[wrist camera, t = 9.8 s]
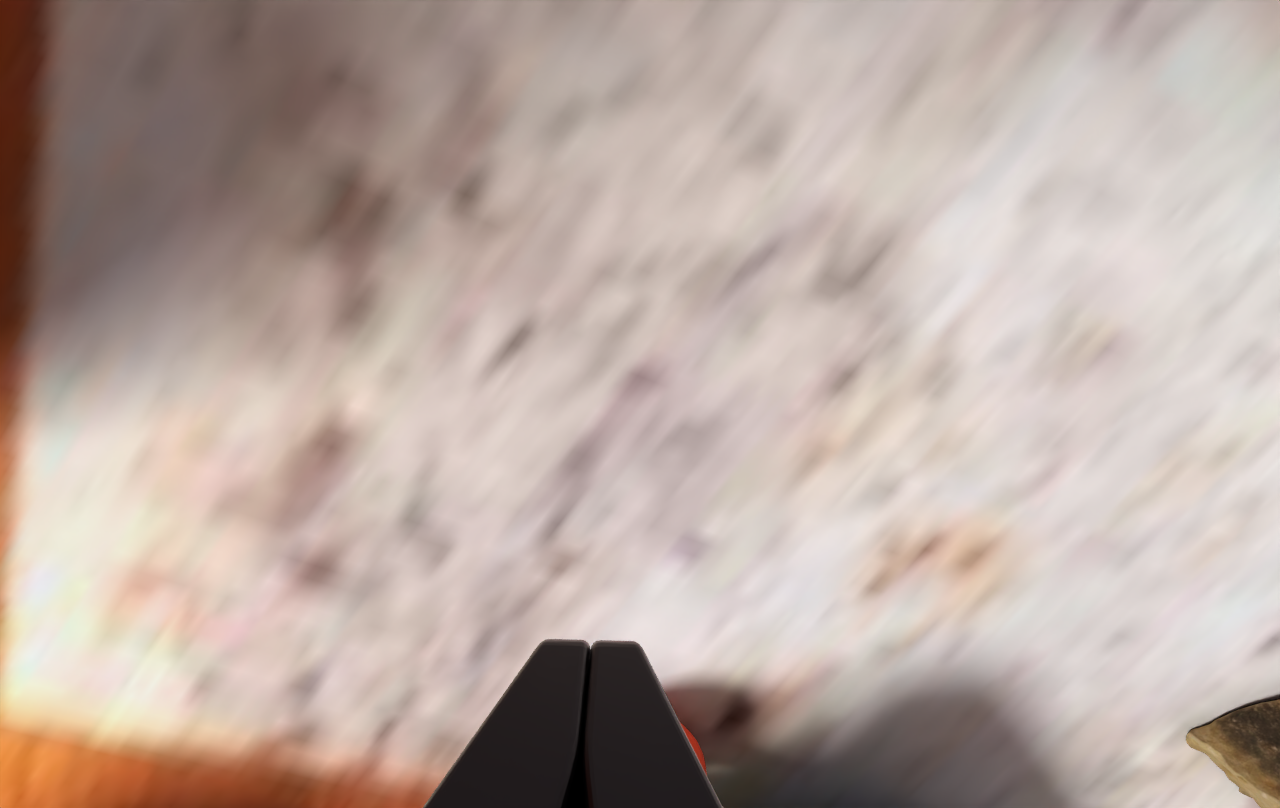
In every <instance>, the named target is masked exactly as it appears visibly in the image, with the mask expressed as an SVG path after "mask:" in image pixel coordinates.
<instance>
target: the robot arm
mask: <svg viewBox="0 0 1280 808" xmlns="http://www.w3.org/2000/svg"><path fill="white" fill-rule="evenodd" d="M423 808H723V807H722V805H721V803H720V801H719V799H718V797H717V795H716V793H715V791H714V789H713V787H712V785H711V783H710V781H709V779H708V777H707V775H706V773H705V771H704V769H703V767H702V765H701V763H700V761H699V759H698V757H697V755H696V753H695V751H694V749H693V747H692V745H691V743H690V741H689V739H688V737H687V735H686V733H685V731H684V730H683V728H682V726H681V724H680V722H679V720H678V718H677V716H676V714H675V712H674V710H673V708H672V706H671V704H670V702H669V700H668V698H667V696H666V694H665V692H664V690H663V688H662V686H661V684H660V682H659V680H658V678H657V676H656V674H655V672H654V670H653V668H652V666H651V664H650V662H649V660H648V658H647V656H646V654H645V652H644V650H643V649H642V647H641V646H640V645H639V644H638V643H636V642H634V641H603V640H600V641H596V642H595V643H593V645H592V647H591V650H590V646H589V644H588V643H587V642H586V641H584V640H562V639H547V640H545V641H543V642H541V643H540V644H539V645H538V647H537V648H536V649H535V651H534V652H533V653H532V655H531V656H530V658H529V659H528V660H527V662H526V663H525V665H524V666H523V667H522V669H521V670H520V672H519V673H518V675H517V676H516V677H515V679H514V680H513V682H512V683H511V684H510V686H509V687H508V689H507V690H506V691H505V693H504V694H503V696H502V697H501V698H500V700H499V701H498V703H497V704H496V705H495V707H494V708H493V710H492V711H491V712H490V714H489V715H488V717H487V718H486V720H485V721H484V722H483V724H482V725H481V727H480V728H479V729H478V731H477V732H476V734H475V735H474V736H473V738H472V739H471V741H470V742H469V743H468V745H467V746H466V748H465V749H464V750H463V752H462V753H461V755H460V756H459V758H458V759H457V760H456V762H455V763H454V765H453V766H452V767H451V769H450V770H449V772H448V773H447V774H446V776H445V777H444V779H443V780H442V781H441V783H440V784H439V786H438V787H437V788H436V790H435V791H434V793H433V794H432V796H431V797H430V798H429V800H428V801H427V803H426V804H425V805H424V807H423Z"/></svg>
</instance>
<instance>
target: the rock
mask: <svg viewBox="0 0 1280 808" xmlns="http://www.w3.org/2000/svg"><path fill="white" fill-rule="evenodd" d="M1186 741H1187V744H1188V745H1189V746H1190V747H1191V748H1193V749H1196V750H1198V751H1201V752H1203V753H1205V754H1206V755H1208V756H1209V757H1210V759H1211V760H1212V761H1213V762H1214V763H1215V764H1216V765H1217V766H1218V767H1219V768H1220V769H1222V770H1223V771H1224V772H1225V774H1226V776H1227V777H1228V778H1229V780H1231V781H1232V782H1233V783H1235V784H1236V785H1237V786H1238V787H1239V792H1241V793H1242V794H1244V795H1247V796H1249V797H1251V798H1253V799H1254V800H1255V802H1256V803H1257V804H1258V805H1259V806H1260V807H1261V808H1280V699H1278V700H1274V701H1268V702H1262V703H1259V704H1255V705H1252V706H1248V707H1245V708H1242V709H1239V710H1236V711H1234V712H1231V713H1229V714H1227V715H1225V716H1223V717H1221V718H1218V719H1216V720H1214V721H1213V722H1212V723H1211V724H1209V725H1206V726H1203V727H1200V728H1196V729H1191V730H1190V732H1189V733H1188V734H1187V736H1186Z"/></svg>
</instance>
